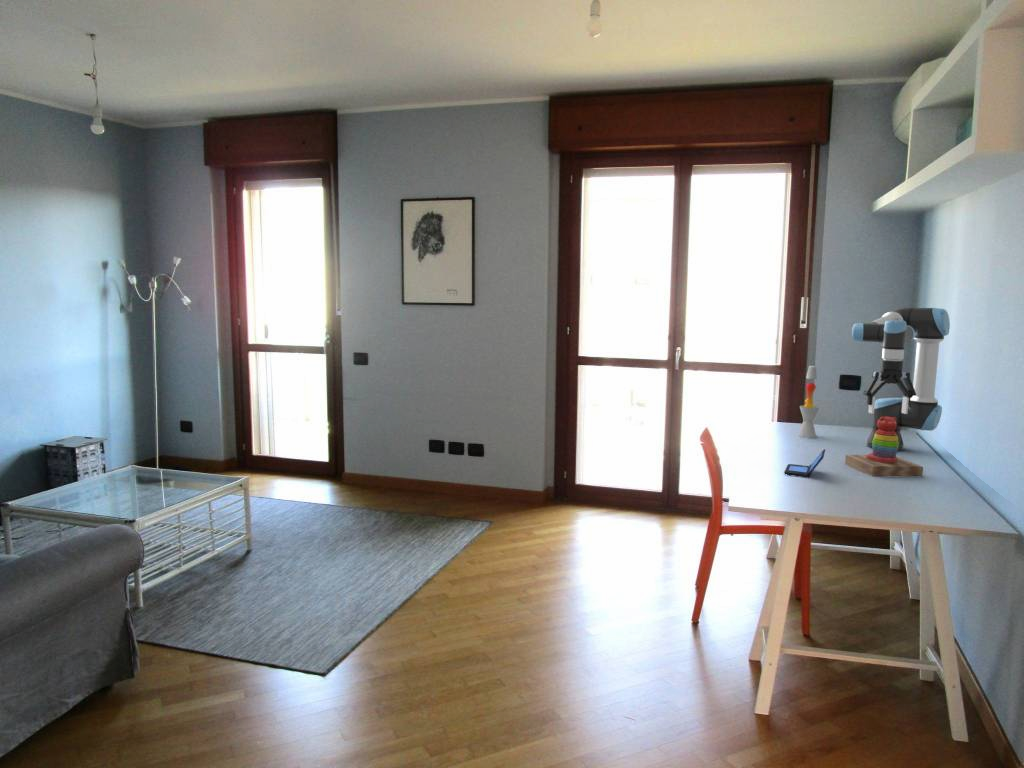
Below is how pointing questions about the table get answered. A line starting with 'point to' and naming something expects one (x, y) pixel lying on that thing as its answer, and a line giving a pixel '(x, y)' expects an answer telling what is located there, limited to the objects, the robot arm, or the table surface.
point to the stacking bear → (885, 441)
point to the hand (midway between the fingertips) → (887, 413)
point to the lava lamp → (809, 407)
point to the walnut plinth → (884, 466)
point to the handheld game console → (803, 467)
